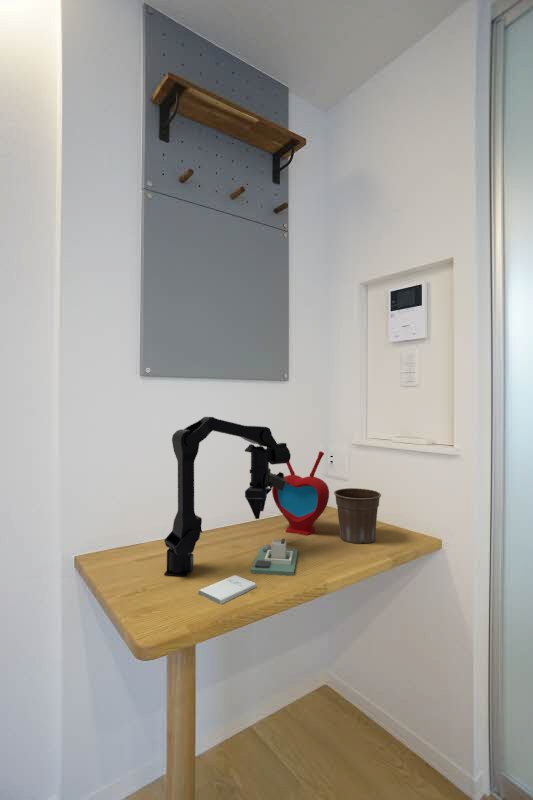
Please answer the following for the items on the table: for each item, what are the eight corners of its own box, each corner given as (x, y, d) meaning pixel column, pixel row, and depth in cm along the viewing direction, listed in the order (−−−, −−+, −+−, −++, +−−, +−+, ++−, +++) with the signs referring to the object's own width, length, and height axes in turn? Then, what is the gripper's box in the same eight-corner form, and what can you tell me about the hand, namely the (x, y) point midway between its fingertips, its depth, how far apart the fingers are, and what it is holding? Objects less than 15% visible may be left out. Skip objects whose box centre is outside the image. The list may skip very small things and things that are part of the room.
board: (250, 573, 115) (250, 563, 115) (260, 550, 133) (260, 542, 133) (293, 575, 113) (293, 566, 113) (297, 552, 131) (297, 544, 131)
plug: (271, 561, 121) (271, 542, 121) (273, 556, 125) (273, 537, 125) (284, 561, 120) (285, 542, 121) (286, 556, 124) (286, 538, 125)
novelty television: (269, 530, 154) (269, 450, 154) (283, 522, 165) (284, 447, 166) (321, 539, 144) (321, 453, 145) (333, 529, 156) (333, 450, 156)
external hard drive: (198, 596, 102) (234, 580, 111) (220, 606, 97) (256, 589, 106) (198, 589, 102) (234, 574, 111) (220, 599, 97) (256, 582, 106)
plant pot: (373, 549, 134) (373, 500, 134) (327, 541, 142) (327, 494, 142) (386, 536, 148) (386, 491, 148) (343, 529, 156) (343, 486, 156)
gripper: (282, 471, 121) (281, 524, 120) (287, 462, 139) (287, 508, 139) (244, 470, 122) (244, 522, 122) (255, 461, 141) (254, 507, 140)
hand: (259, 514), depth 131 cm, fingers open, 9 cm apart
